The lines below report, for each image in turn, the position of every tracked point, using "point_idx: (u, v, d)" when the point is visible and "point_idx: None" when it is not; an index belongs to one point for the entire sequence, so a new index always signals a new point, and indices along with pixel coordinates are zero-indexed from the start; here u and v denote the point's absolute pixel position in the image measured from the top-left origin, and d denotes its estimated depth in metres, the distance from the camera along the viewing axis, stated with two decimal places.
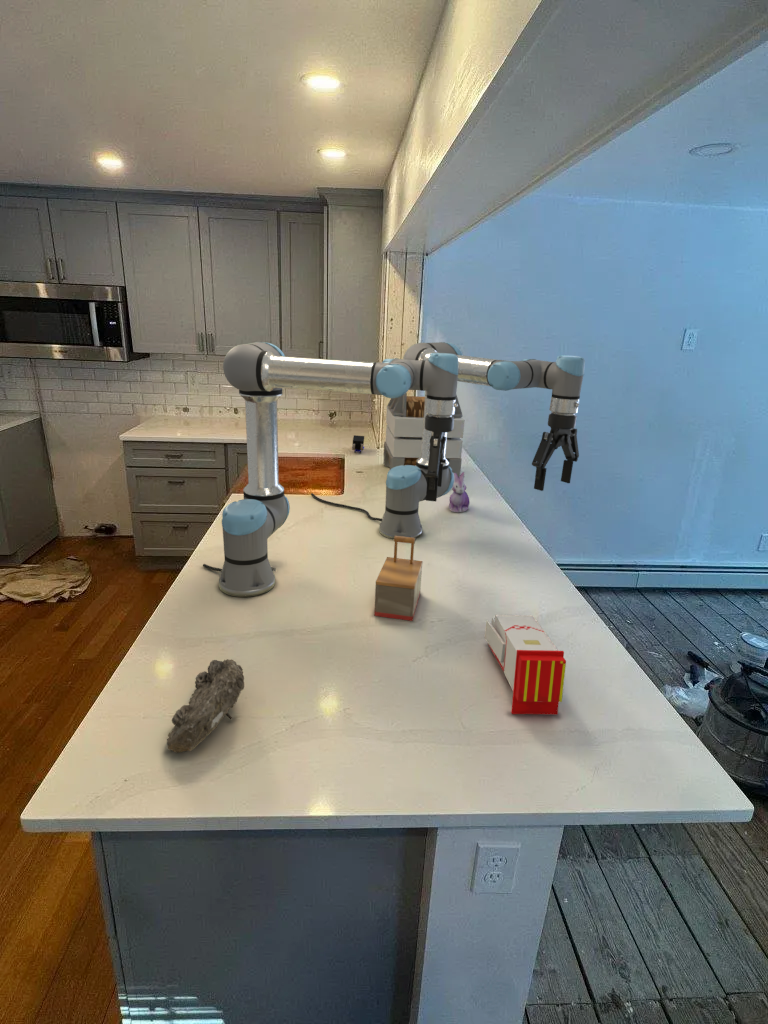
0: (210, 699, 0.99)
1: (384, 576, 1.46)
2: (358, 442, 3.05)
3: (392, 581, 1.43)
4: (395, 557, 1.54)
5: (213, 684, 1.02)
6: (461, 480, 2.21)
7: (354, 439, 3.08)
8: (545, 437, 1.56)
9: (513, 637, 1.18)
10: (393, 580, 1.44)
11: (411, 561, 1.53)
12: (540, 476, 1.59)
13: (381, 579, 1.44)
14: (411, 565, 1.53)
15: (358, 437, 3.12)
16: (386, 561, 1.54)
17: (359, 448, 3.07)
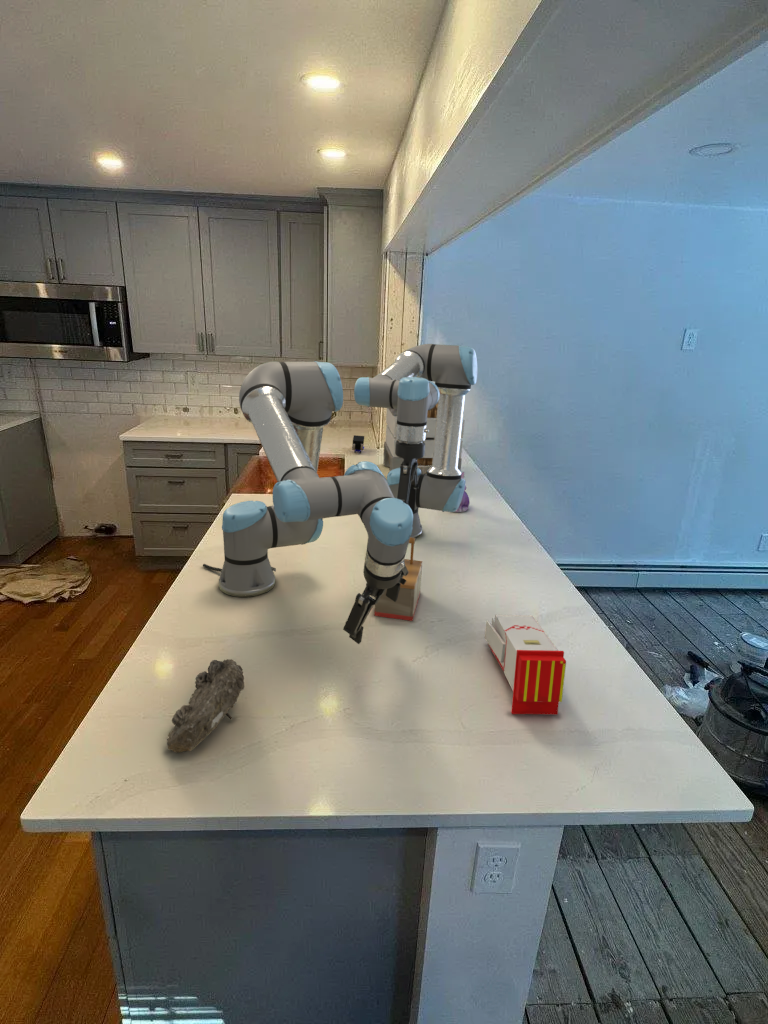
0: (210, 699, 0.99)
1: None
2: (358, 442, 3.05)
3: None
4: None
5: (213, 684, 1.02)
6: None
7: (354, 439, 3.08)
8: (404, 471, 1.38)
9: (513, 637, 1.18)
10: None
11: (411, 561, 1.53)
12: None
13: None
14: (411, 565, 1.53)
15: (358, 437, 3.12)
16: None
17: (359, 448, 3.07)
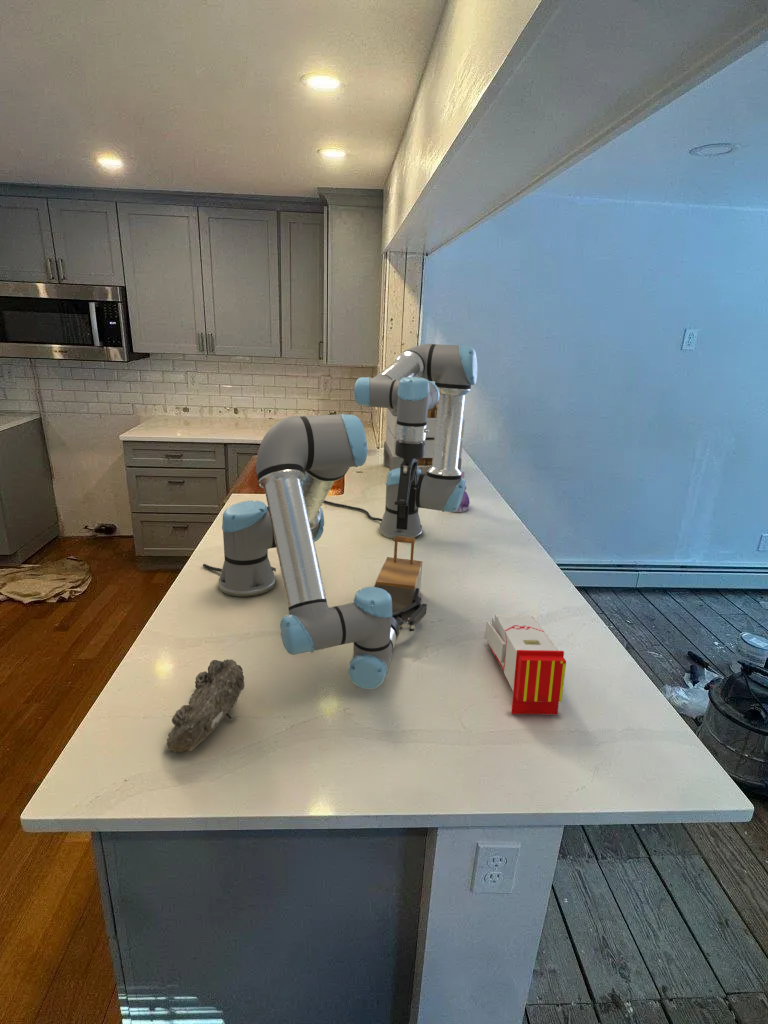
0: (210, 699, 0.99)
1: (384, 576, 1.46)
2: None
3: (393, 581, 1.43)
4: (395, 557, 1.54)
5: (213, 684, 1.02)
6: None
7: None
8: (404, 471, 1.38)
9: (513, 637, 1.18)
10: (393, 580, 1.44)
11: (411, 561, 1.53)
12: (404, 514, 1.41)
13: (381, 579, 1.44)
14: (411, 565, 1.53)
15: None
16: (386, 561, 1.54)
17: None
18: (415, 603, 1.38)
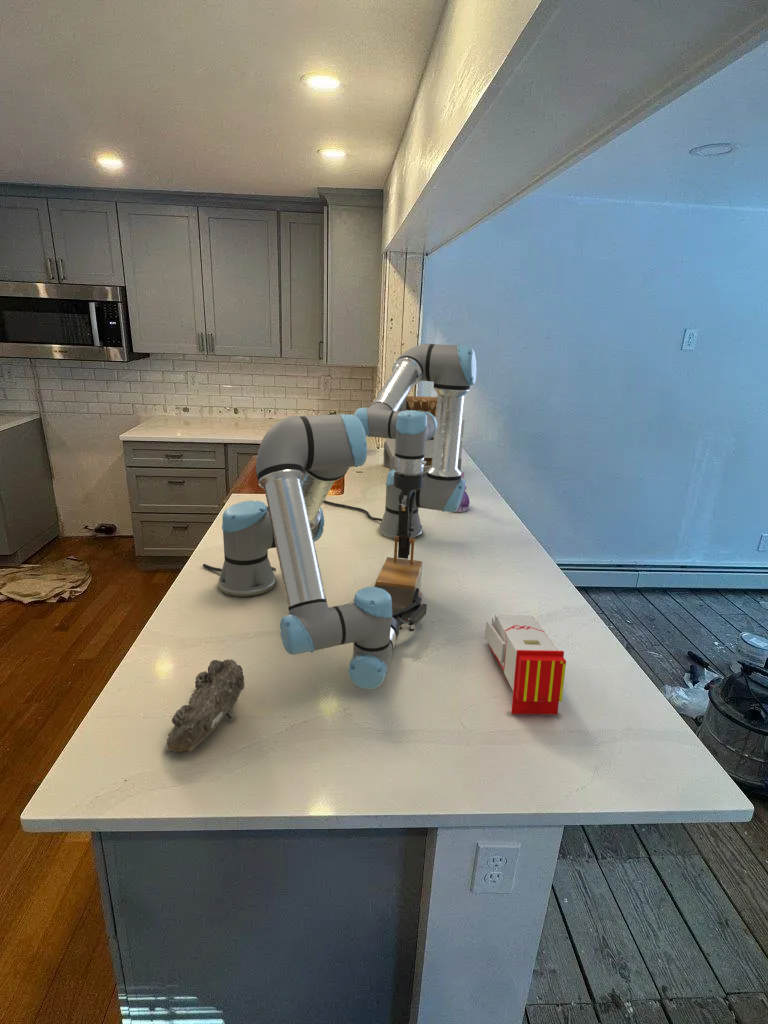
0: (210, 699, 0.99)
1: (384, 576, 1.46)
2: None
3: (393, 581, 1.43)
4: (395, 557, 1.54)
5: (213, 684, 1.02)
6: None
7: None
8: (403, 510, 1.43)
9: (513, 637, 1.18)
10: (393, 580, 1.44)
11: (411, 561, 1.53)
12: (405, 545, 1.50)
13: (381, 579, 1.44)
14: (411, 565, 1.53)
15: None
16: (386, 561, 1.54)
17: None
18: (415, 603, 1.38)
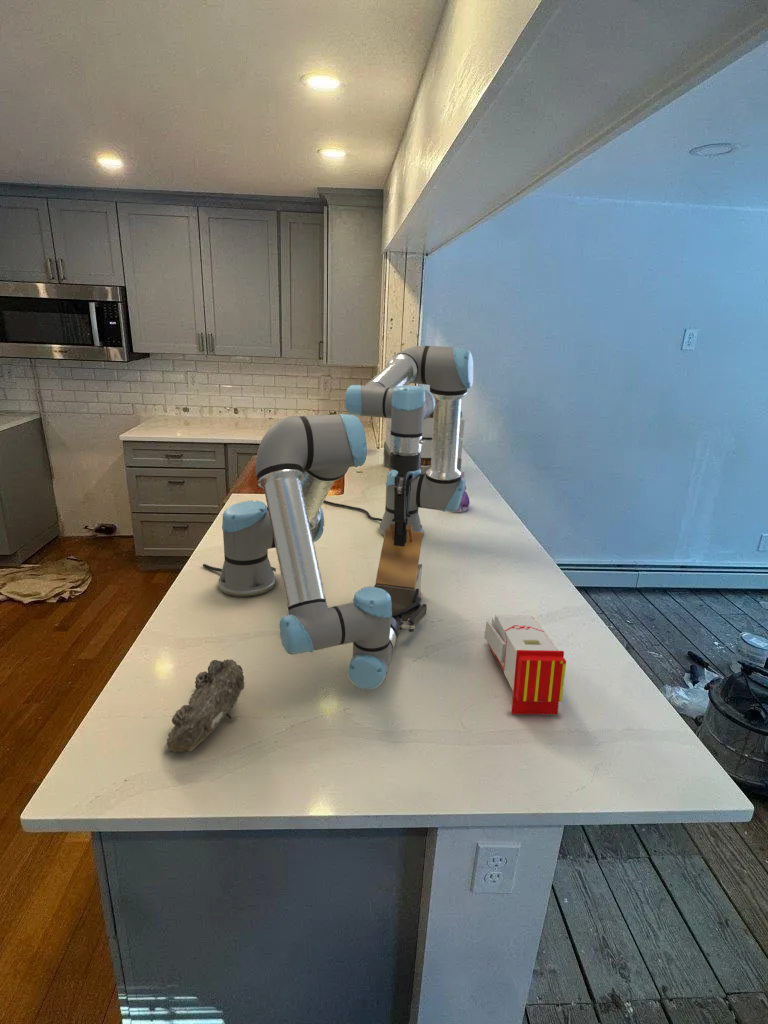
0: (210, 699, 0.99)
1: (383, 571, 1.43)
2: None
3: (392, 580, 1.42)
4: (393, 536, 1.46)
5: (213, 684, 1.02)
6: None
7: None
8: (399, 492, 1.32)
9: (513, 637, 1.18)
10: (392, 579, 1.42)
11: (411, 540, 1.46)
12: (402, 531, 1.39)
13: (381, 578, 1.43)
14: (411, 544, 1.46)
15: None
16: (385, 538, 1.48)
17: None
18: (415, 603, 1.38)
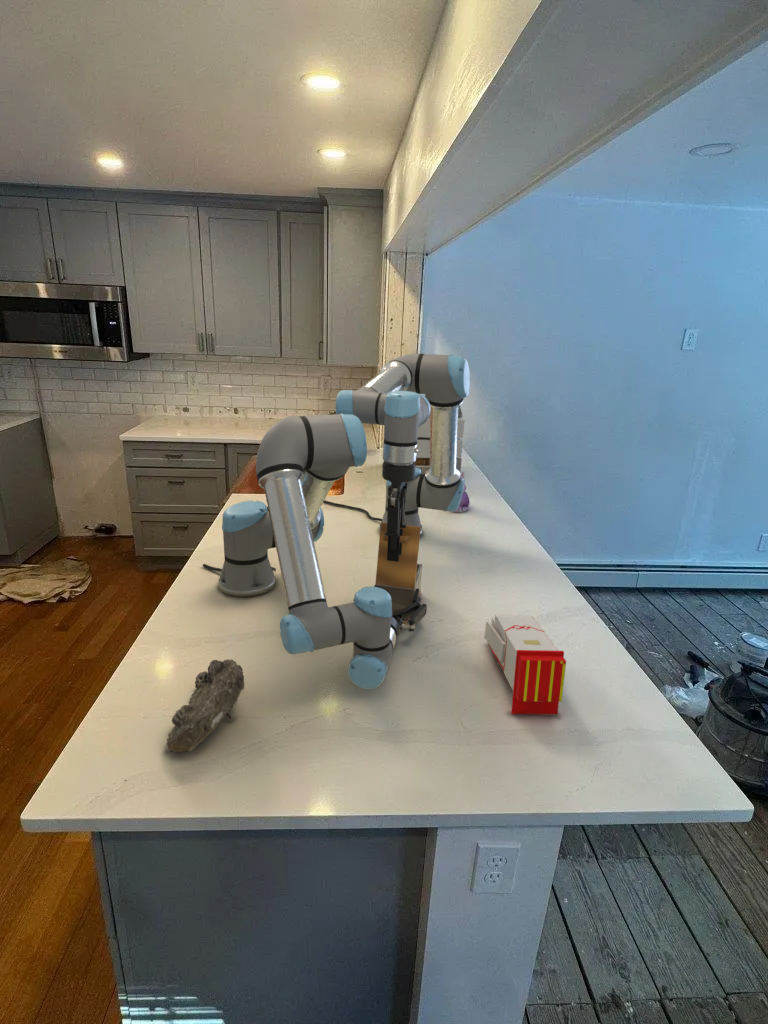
0: (210, 699, 0.99)
1: (382, 571, 1.42)
2: None
3: (392, 580, 1.41)
4: None
5: (213, 684, 1.02)
6: None
7: None
8: (392, 504, 1.24)
9: (513, 637, 1.18)
10: (392, 579, 1.41)
11: (408, 538, 1.39)
12: (396, 546, 1.31)
13: (380, 579, 1.42)
14: (408, 540, 1.40)
15: None
16: (381, 534, 1.41)
17: None
18: (415, 603, 1.38)
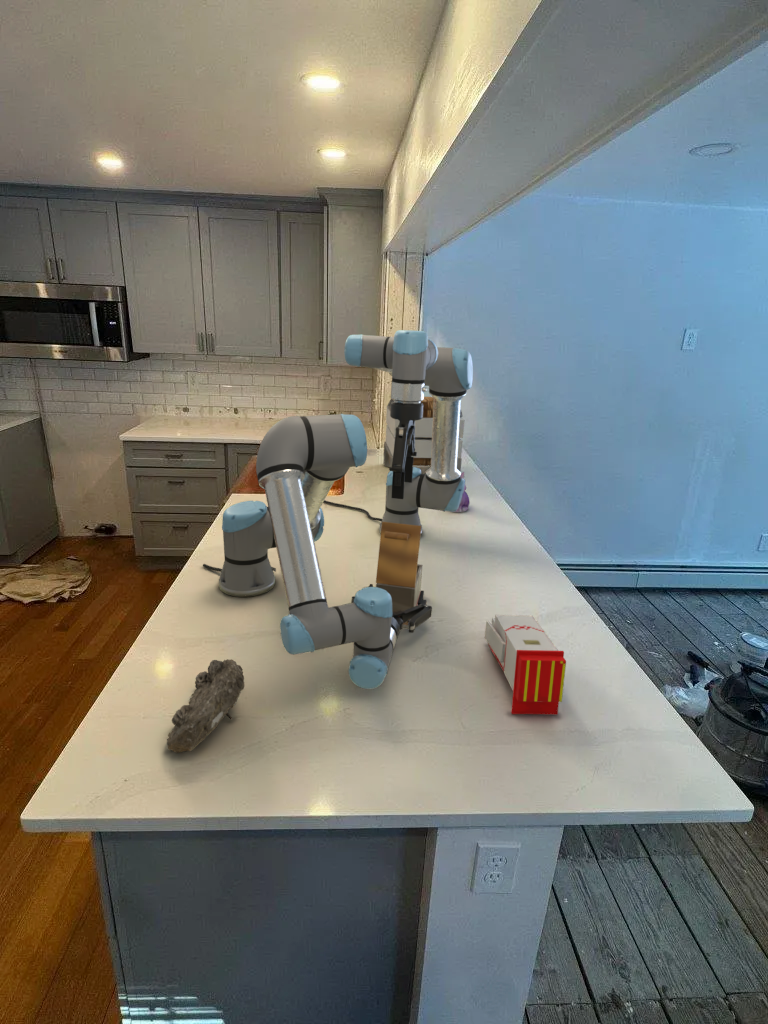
0: (210, 699, 0.99)
1: (383, 570, 1.42)
2: None
3: (392, 579, 1.42)
4: None
5: (213, 684, 1.02)
6: None
7: None
8: (400, 433, 1.25)
9: (513, 637, 1.18)
10: (392, 578, 1.42)
11: (408, 537, 1.40)
12: (400, 482, 1.28)
13: (381, 578, 1.42)
14: (409, 539, 1.41)
15: None
16: (382, 533, 1.42)
17: None
18: (420, 605, 1.37)
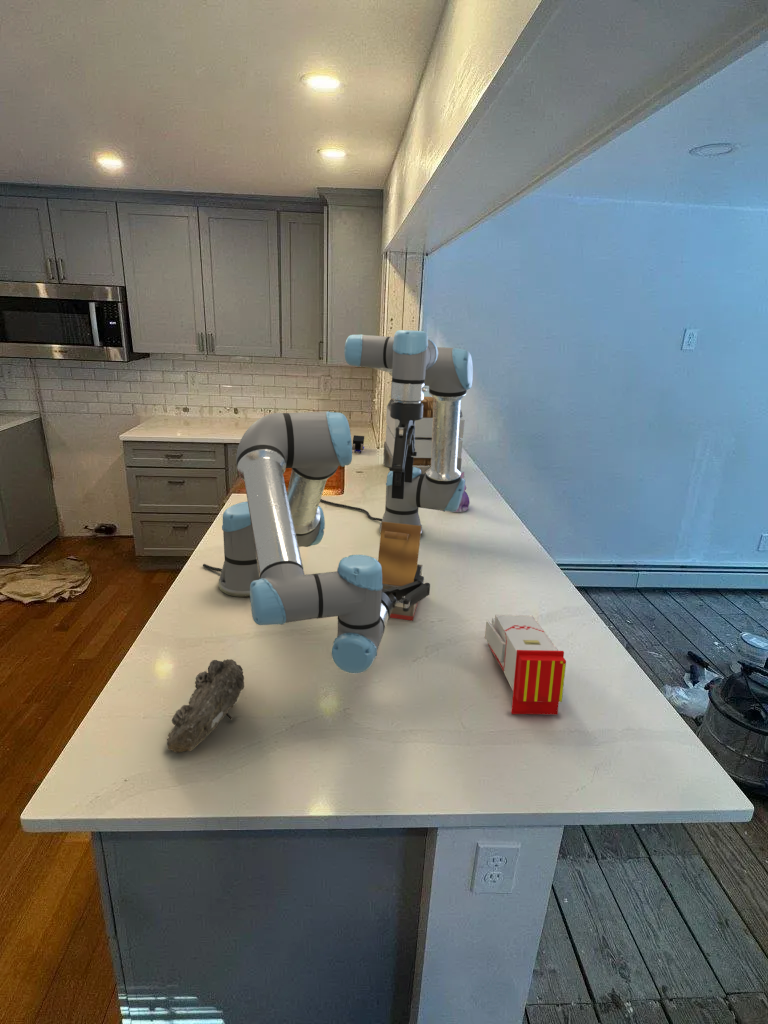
0: (210, 699, 0.99)
1: (383, 570, 1.42)
2: (358, 442, 3.05)
3: (392, 579, 1.42)
4: None
5: (213, 684, 1.02)
6: None
7: (354, 439, 3.08)
8: (400, 433, 1.25)
9: (513, 637, 1.18)
10: (392, 578, 1.42)
11: (408, 536, 1.40)
12: (400, 482, 1.28)
13: None
14: (409, 539, 1.41)
15: (358, 437, 3.12)
16: (382, 533, 1.42)
17: (359, 448, 3.07)
18: (416, 582, 1.21)
